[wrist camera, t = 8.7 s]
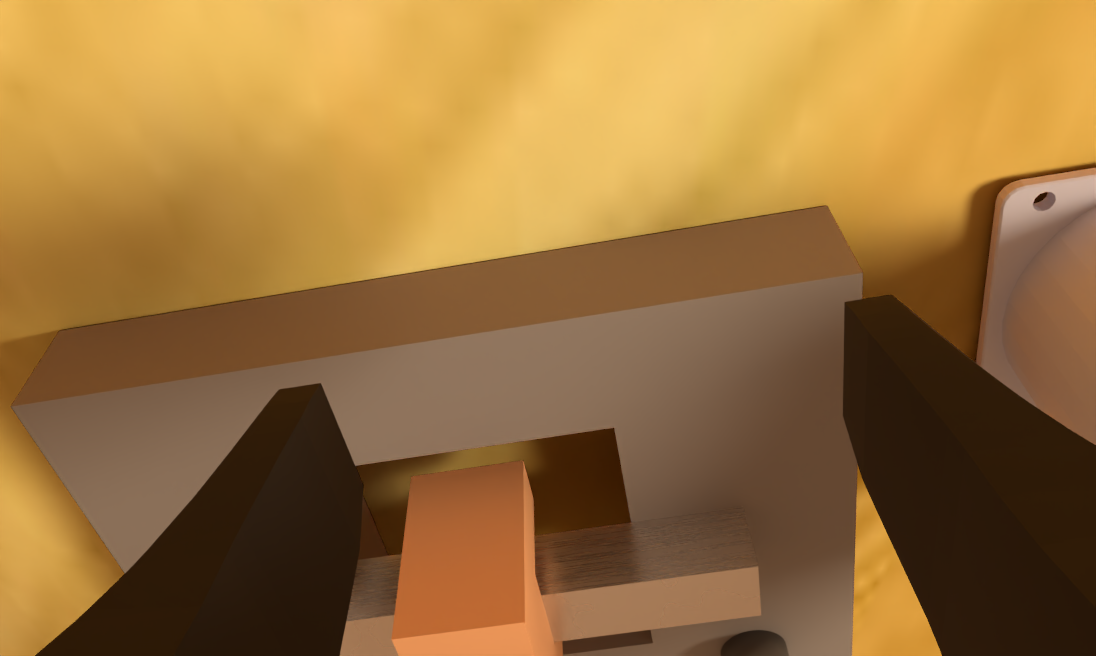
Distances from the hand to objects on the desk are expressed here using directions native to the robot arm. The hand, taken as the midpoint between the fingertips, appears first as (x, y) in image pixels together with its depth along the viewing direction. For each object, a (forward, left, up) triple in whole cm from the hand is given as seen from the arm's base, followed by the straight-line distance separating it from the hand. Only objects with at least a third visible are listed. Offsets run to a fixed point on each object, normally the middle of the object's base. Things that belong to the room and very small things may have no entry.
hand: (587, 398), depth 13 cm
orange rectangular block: (+4, +12, -8) cm, 15 cm away
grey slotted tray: (+4, +12, -10) cm, 16 cm away
